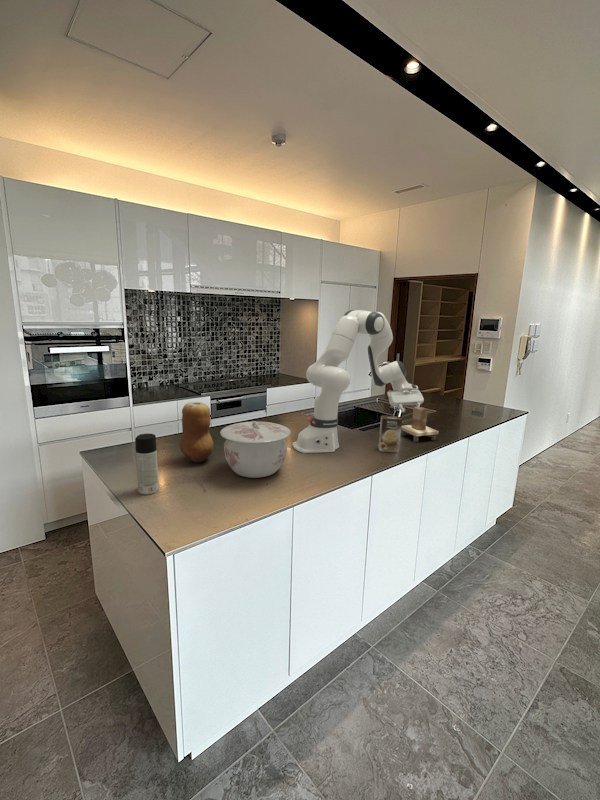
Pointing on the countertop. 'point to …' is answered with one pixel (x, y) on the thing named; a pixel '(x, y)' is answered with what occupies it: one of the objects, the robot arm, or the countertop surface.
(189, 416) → the butternut squash
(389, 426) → the coffee box
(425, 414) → the walnut block
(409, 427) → the peg shelf
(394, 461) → the countertop surface
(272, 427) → the chamber pot
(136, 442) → the spray can
